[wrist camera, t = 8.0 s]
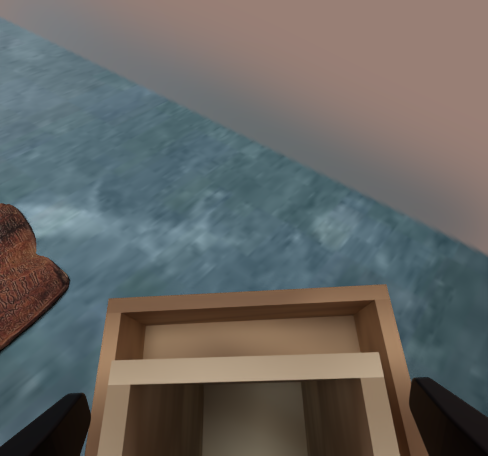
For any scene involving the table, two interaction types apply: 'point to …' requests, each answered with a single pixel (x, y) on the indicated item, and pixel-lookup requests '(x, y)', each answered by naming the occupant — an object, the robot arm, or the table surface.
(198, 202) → the table surface
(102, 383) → the oak crate
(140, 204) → the table surface
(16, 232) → the wooden tablet
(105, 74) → the table surface
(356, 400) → the birch crate
